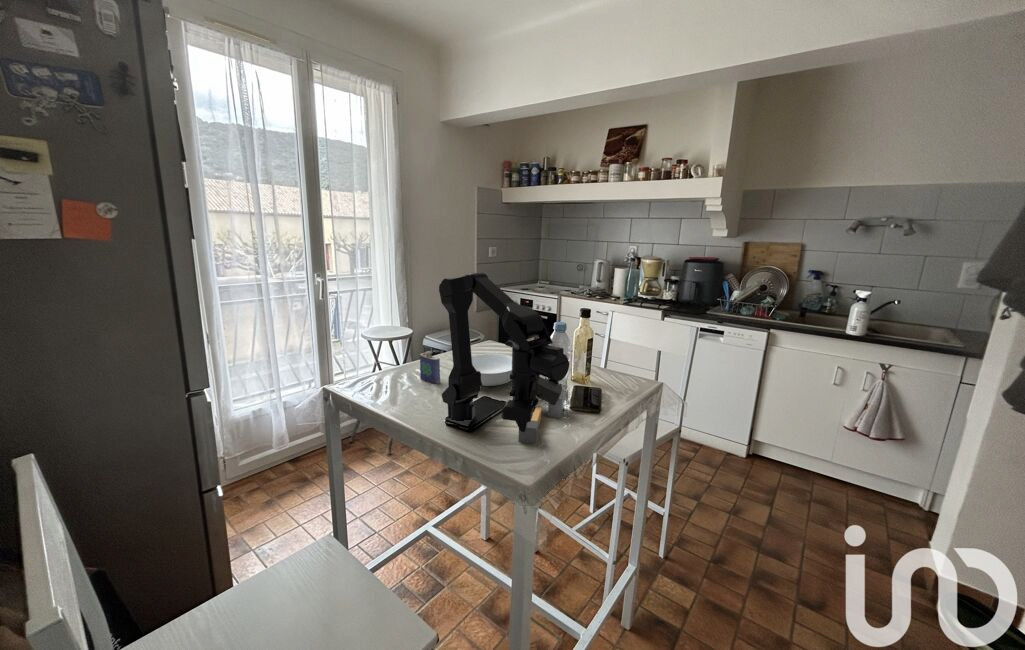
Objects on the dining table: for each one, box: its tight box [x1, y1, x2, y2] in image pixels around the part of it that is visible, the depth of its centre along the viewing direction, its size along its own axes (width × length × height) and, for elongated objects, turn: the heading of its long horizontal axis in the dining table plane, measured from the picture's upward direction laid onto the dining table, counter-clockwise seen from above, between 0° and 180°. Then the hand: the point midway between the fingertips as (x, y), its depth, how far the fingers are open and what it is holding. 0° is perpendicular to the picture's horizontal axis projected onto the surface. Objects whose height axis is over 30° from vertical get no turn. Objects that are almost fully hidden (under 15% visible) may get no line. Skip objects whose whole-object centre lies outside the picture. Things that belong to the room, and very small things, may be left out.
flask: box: [419, 350, 441, 385], centre depth 139 cm, size 9×3×11 cm, turn 51°
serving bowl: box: [472, 353, 512, 387], centre depth 140 cm, size 21×21×7 cm
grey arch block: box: [536, 388, 565, 419], centre depth 118 cm, size 14×7×6 cm, turn 78°
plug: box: [518, 406, 543, 445], centre depth 108 cm, size 4×14×4 cm, turn 168°
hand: (523, 431), depth 94 cm, fingers closed
